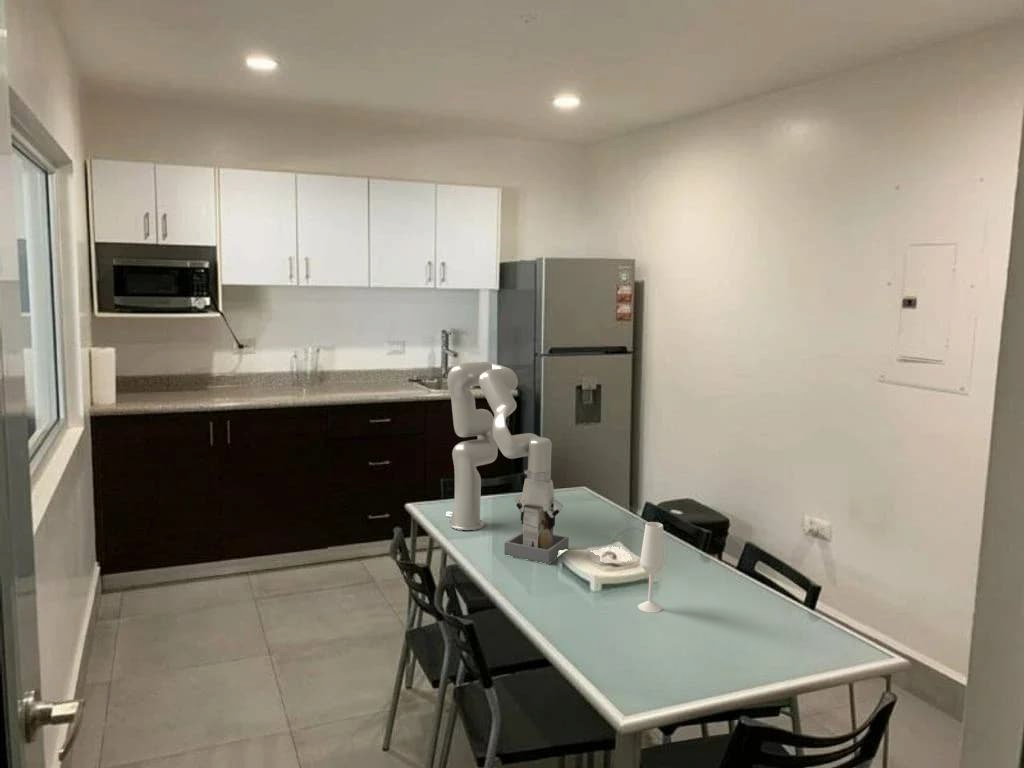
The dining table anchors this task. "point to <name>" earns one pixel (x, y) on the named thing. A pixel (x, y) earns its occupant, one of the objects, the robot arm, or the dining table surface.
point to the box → (535, 549)
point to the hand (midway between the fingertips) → (537, 525)
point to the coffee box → (536, 528)
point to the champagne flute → (652, 560)
